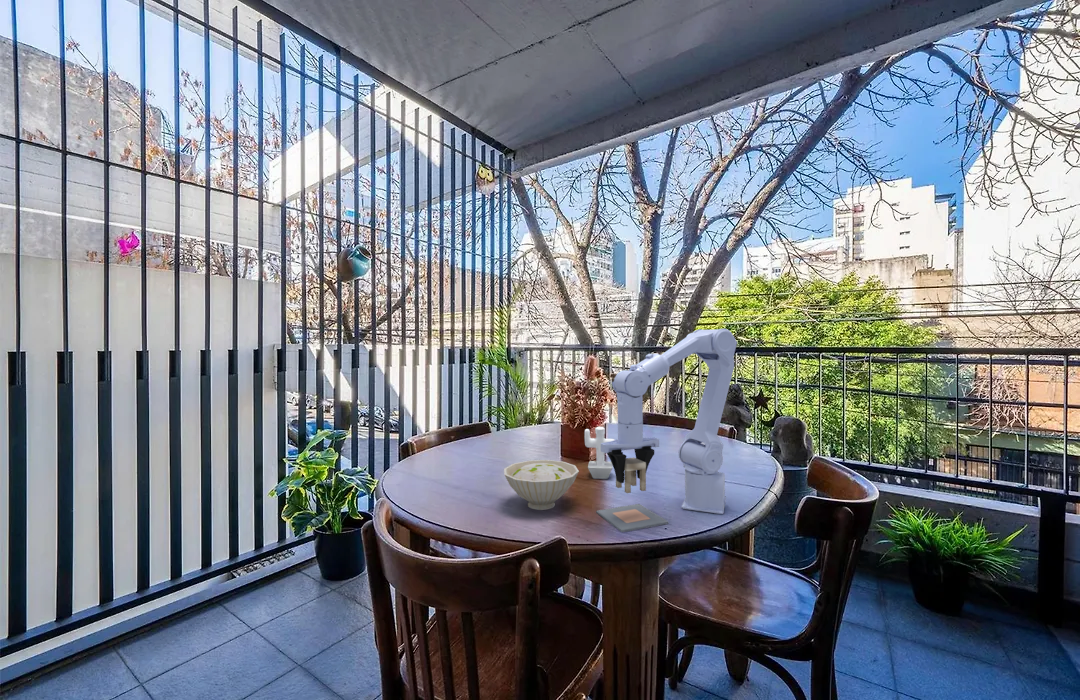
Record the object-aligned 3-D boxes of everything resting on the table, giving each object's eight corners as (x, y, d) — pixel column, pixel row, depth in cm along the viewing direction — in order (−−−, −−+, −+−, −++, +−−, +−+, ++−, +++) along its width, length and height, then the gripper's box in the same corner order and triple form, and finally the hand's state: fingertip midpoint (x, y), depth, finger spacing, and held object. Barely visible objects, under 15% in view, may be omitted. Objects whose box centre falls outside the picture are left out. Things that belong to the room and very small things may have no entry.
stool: (634, 484, 110) (634, 457, 110) (645, 490, 105) (645, 462, 105) (615, 486, 108) (615, 459, 108) (626, 493, 104) (626, 464, 103)
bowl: (494, 497, 122) (493, 460, 122) (560, 488, 129) (560, 452, 129) (517, 525, 104) (516, 481, 104) (593, 512, 111) (592, 471, 111)
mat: (639, 505, 115) (639, 503, 115) (668, 523, 103) (668, 521, 103) (596, 512, 110) (596, 510, 110) (621, 532, 99) (621, 529, 99)
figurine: (616, 480, 135) (615, 430, 134) (584, 479, 136) (583, 429, 136) (616, 473, 142) (615, 425, 141) (585, 472, 143) (585, 424, 143)
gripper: (647, 417, 113) (647, 471, 113) (594, 421, 108) (594, 479, 108) (664, 421, 106) (664, 480, 106) (608, 427, 101) (609, 488, 101)
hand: (630, 480), depth 107 cm, fingers closed on stool, 5 cm apart
